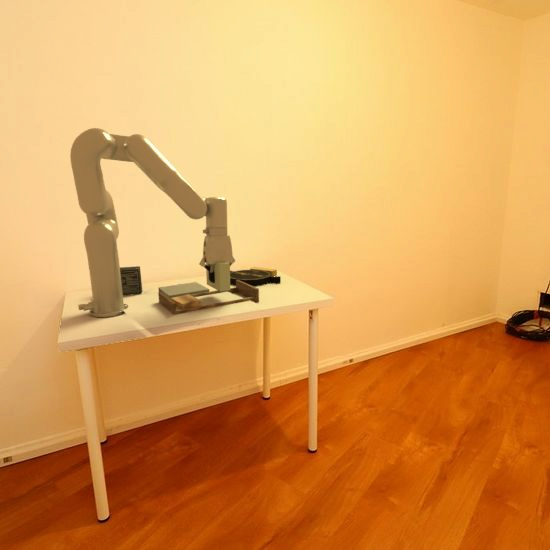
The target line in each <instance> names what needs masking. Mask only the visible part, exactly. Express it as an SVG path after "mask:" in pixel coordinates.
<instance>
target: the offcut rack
mask: <svg viewBox="0 0 550 550" xmlns="http://www.w3.org/2000/svg"><path fill="white" fill-rule="evenodd" d="M259 289H260V288H258V287H257V286H251V285H249V284H247V283H245V282H242V281H240V280H236V285H235V287H230V290H228V291H222V292H220V291H218V290H211V291H209V292H205V293H199V294H193V295H191V296H193V297H195V298H197V297H203V296H208V295H214V294H215V295H216V294H219V293H225V292H227V293H229V294H235V293H237V292H238V294H239V293H240V294H239V295H241V294H242V296H244V297H243V298H238V299H234V300H228V301H222V302H217V303H212V304H207V305H202V306H200V307H195V308H189V309H184V310H180V309H179V310H177V307H176V303H175V302H174V301H173V300H171V298H169V297H167V296H166V295H165V294H163V293H162V292H159V291H158V293H157V294H158V302H159V304H160V305H162V306H163V307H164V308H165V309H166V310H167V311H169V313H172V315H173V316H174V315H179V314H185V313H191V312H196V311H200V310H206V309H212V308H216V307H222V306H226V305H233V304H237V303H242V302H247V301H250V302H253V303H257V302H258V303H259V302H260V290H259Z"/></svg>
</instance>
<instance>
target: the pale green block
mask: <svg viewBox="0 0 550 550" xmlns="http://www.w3.org/2000/svg"><path fill="white" fill-rule="evenodd" d="M205 264H206V265H208V263H205ZM205 270H206V269H205ZM230 271H231V266H230V263H228V262H217V263H216V264H214V269H213V272H214V273H215V283H212V282H210V280H209V271H207V270H206V285H207V286H208V287H210V288H212V289H215V291H217V290H218V291H220V292H221V293H223V292H222V291H228V290H230V288H231V284H230Z"/></svg>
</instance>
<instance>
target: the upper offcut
mask: <svg viewBox="0 0 550 550" xmlns="http://www.w3.org/2000/svg"><path fill="white" fill-rule="evenodd" d="M171 300H173V301H174V302H175V303H176V306H177V307H179V308H181V309H182V310H183V309H187V308H191V307H196V306H200V305H202V304H201V303H202V302H201V299H199V298H197V297H193V296H191V295H189V294H188V295H183V296H178V297H174V298H171ZM177 307H176V308H177ZM179 308H178V309H179Z"/></svg>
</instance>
